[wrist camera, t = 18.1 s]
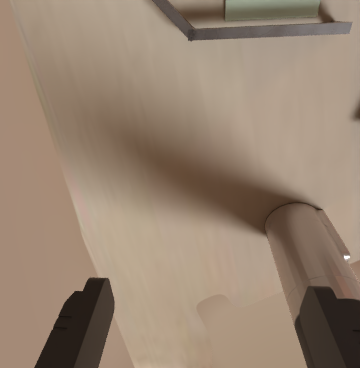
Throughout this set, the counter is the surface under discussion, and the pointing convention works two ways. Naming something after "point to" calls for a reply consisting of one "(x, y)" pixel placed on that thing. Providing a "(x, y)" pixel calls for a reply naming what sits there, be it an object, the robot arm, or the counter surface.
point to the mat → (270, 9)
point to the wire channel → (250, 28)
